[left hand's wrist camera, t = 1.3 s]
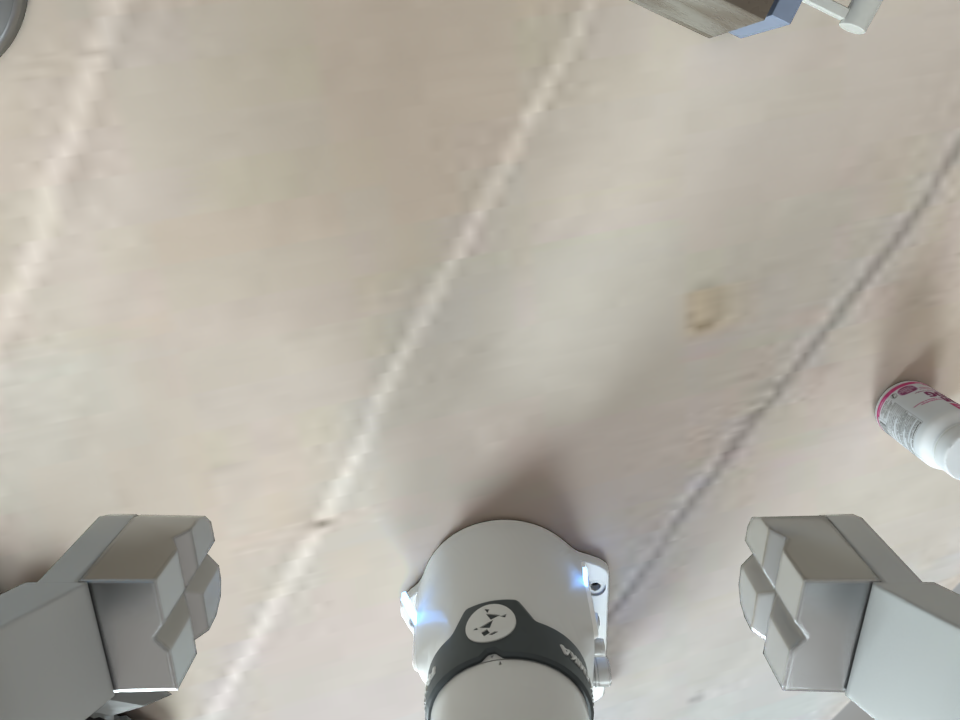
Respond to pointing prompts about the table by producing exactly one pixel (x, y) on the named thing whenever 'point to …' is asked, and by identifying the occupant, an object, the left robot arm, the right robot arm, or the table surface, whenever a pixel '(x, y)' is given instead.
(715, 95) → the table surface
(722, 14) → the cabinet
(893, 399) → the pill bottle
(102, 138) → the table surface
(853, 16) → the drawer
